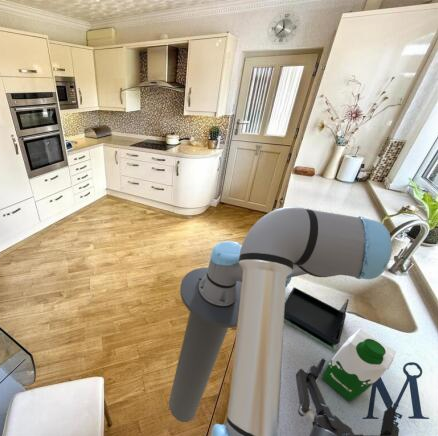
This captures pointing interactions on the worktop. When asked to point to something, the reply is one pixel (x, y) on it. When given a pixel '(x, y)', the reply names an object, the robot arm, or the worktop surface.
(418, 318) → the worktop surface
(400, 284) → the worktop surface
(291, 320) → the black tray
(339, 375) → the soya milk
